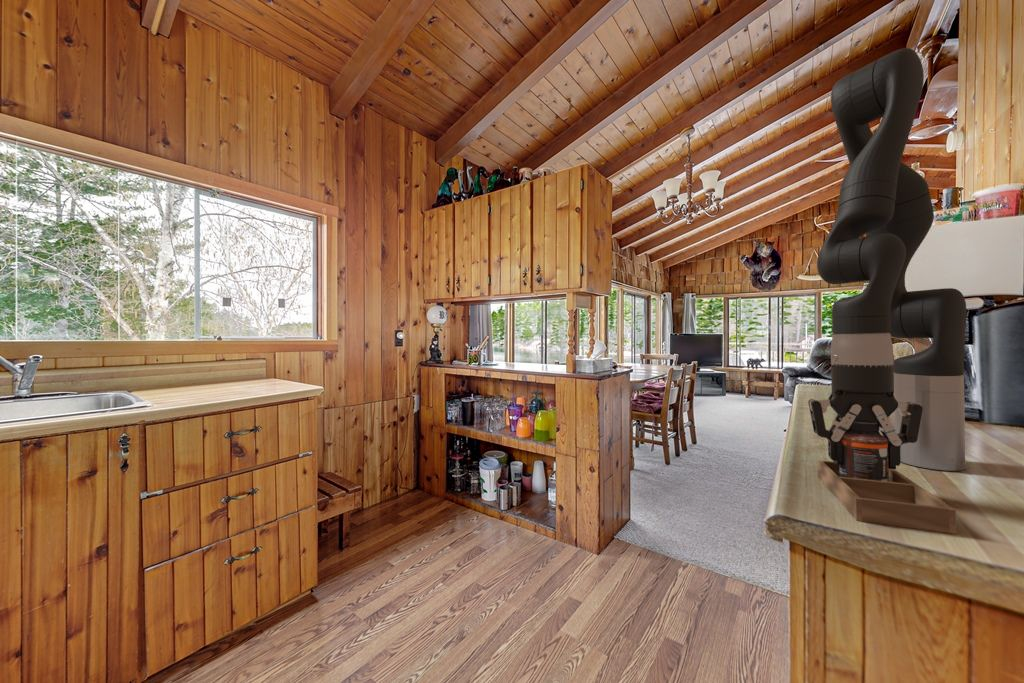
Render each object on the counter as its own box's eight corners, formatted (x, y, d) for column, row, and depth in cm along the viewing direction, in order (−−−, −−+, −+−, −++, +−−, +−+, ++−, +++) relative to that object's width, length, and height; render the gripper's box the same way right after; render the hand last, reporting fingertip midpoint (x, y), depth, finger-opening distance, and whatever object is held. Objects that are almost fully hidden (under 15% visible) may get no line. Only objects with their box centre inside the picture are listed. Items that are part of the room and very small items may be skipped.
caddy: (817, 476, 69) (817, 460, 69) (890, 484, 65) (889, 466, 65) (856, 520, 53) (856, 498, 53) (955, 533, 49) (955, 510, 49)
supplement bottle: (899, 498, 59) (898, 425, 59) (854, 496, 61) (853, 424, 61) (872, 484, 65) (870, 417, 65) (831, 482, 67) (830, 416, 66)
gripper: (908, 360, 63) (910, 463, 63) (800, 360, 69) (802, 454, 69) (934, 363, 56) (936, 479, 57) (812, 363, 62) (814, 467, 63)
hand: (862, 465), depth 63 cm, fingers closed on supplement bottle, 6 cm apart
